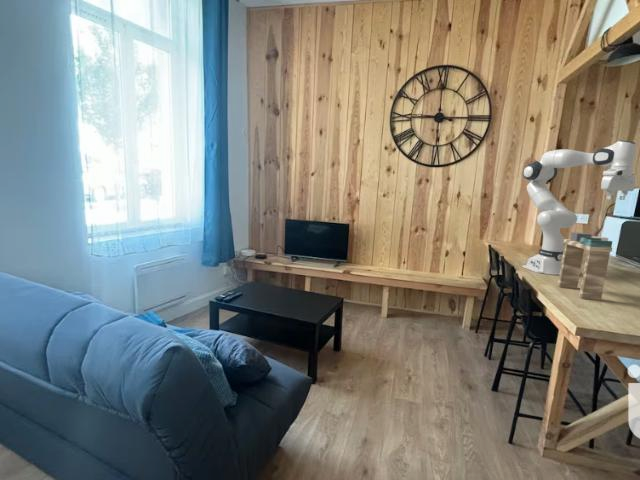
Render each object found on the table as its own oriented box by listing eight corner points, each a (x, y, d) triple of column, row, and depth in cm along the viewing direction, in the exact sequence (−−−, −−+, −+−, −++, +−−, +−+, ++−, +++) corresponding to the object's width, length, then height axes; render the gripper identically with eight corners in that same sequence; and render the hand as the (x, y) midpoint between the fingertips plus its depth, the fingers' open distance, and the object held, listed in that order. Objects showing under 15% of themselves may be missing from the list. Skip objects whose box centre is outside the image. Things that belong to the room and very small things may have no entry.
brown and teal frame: (556, 286, 193) (565, 233, 187) (575, 287, 192) (584, 234, 187) (580, 298, 173) (591, 240, 167) (602, 300, 172) (613, 241, 167)
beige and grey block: (602, 241, 185) (603, 233, 184) (608, 243, 180) (610, 235, 180) (570, 239, 186) (571, 232, 185) (576, 241, 181) (577, 233, 181)
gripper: (627, 173, 190) (622, 199, 193) (600, 171, 184) (595, 198, 186) (641, 173, 184) (635, 200, 187) (613, 171, 178) (608, 199, 181)
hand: (615, 199), depth 187 cm, fingers open, 8 cm apart
